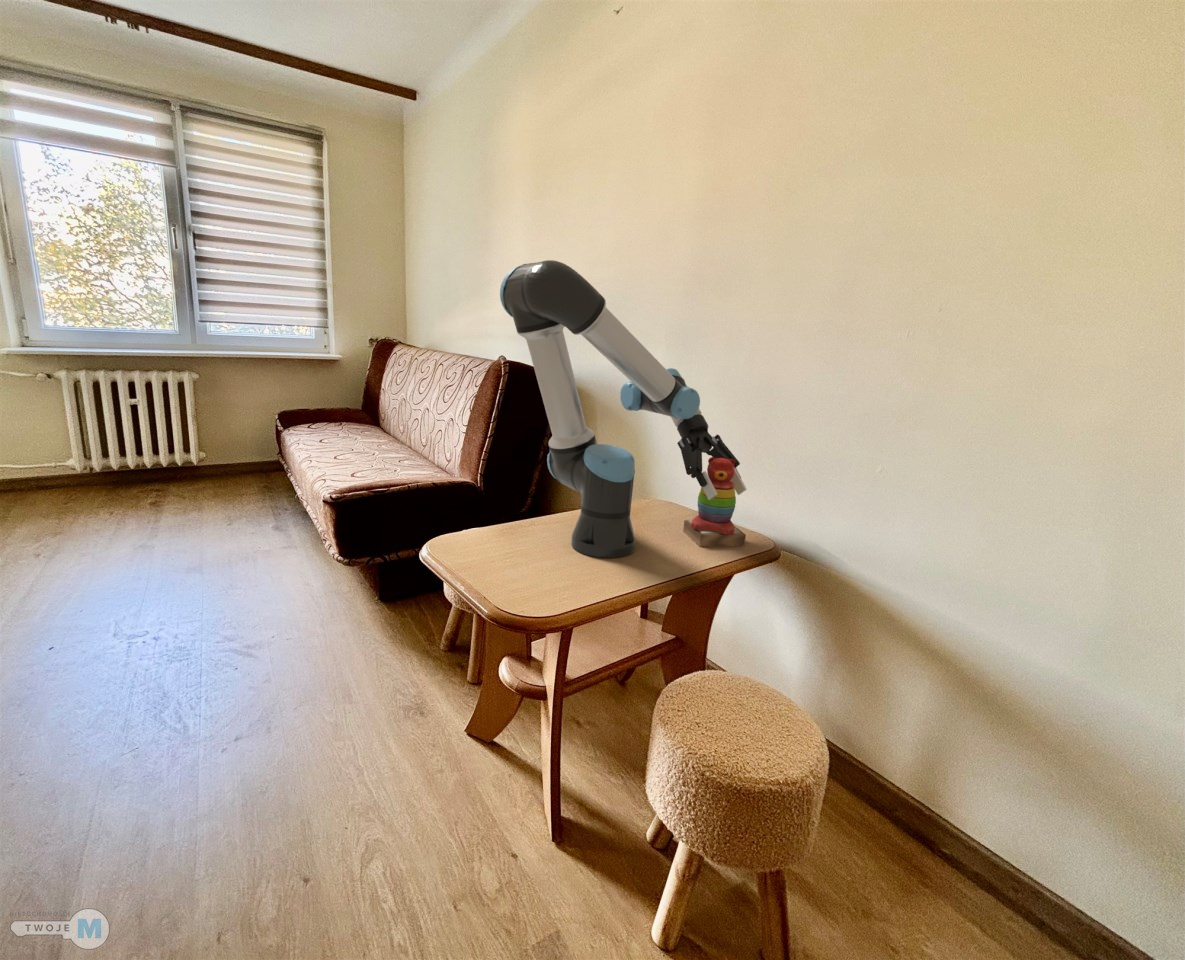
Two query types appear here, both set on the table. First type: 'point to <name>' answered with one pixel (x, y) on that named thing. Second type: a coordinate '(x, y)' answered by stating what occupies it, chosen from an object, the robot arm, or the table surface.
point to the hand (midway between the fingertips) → (728, 494)
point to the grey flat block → (713, 536)
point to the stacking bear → (717, 499)
